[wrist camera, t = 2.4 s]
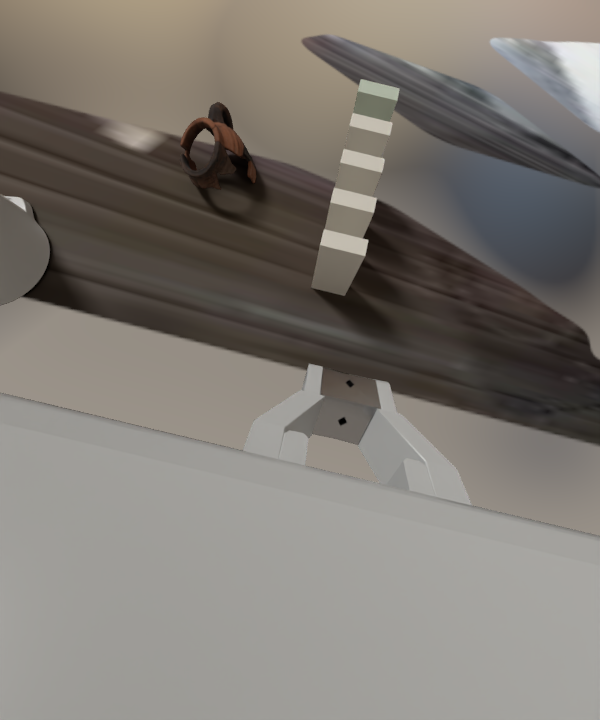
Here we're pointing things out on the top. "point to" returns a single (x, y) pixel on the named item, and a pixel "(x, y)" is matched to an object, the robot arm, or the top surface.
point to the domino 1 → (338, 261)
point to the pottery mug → (215, 148)
